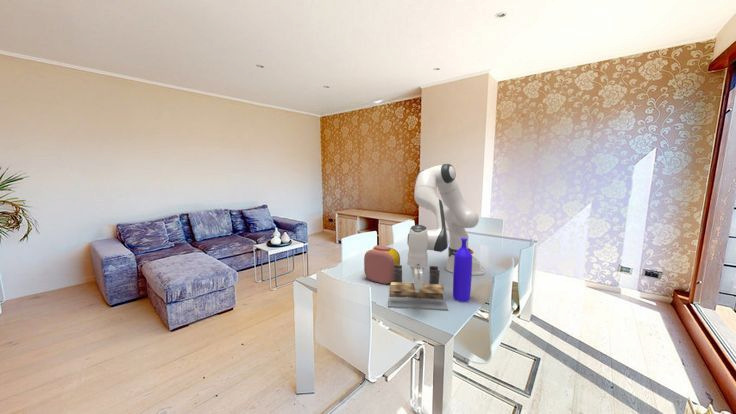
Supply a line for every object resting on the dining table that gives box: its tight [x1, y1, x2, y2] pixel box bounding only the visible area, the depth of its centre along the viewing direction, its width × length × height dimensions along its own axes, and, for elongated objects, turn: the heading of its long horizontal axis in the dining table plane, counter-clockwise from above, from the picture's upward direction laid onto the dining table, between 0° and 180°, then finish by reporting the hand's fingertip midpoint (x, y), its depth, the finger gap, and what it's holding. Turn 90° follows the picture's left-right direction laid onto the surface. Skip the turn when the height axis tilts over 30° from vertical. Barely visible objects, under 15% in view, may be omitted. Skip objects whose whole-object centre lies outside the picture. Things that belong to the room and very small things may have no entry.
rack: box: [389, 264, 444, 300], centre depth 138 cm, size 26×8×14 cm, turn 84°
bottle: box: [452, 238, 473, 303], centre depth 132 cm, size 8×8×30 cm
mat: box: [387, 297, 449, 311], centre depth 128 cm, size 27×8×1 cm, turn 84°
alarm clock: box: [363, 244, 401, 285], centre depth 155 cm, size 18×11×19 cm, turn 61°
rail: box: [390, 281, 445, 295], centre depth 127 cm, size 24×3×3 cm, turn 83°
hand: (416, 289), depth 127 cm, fingers closed on rail, 3 cm apart
